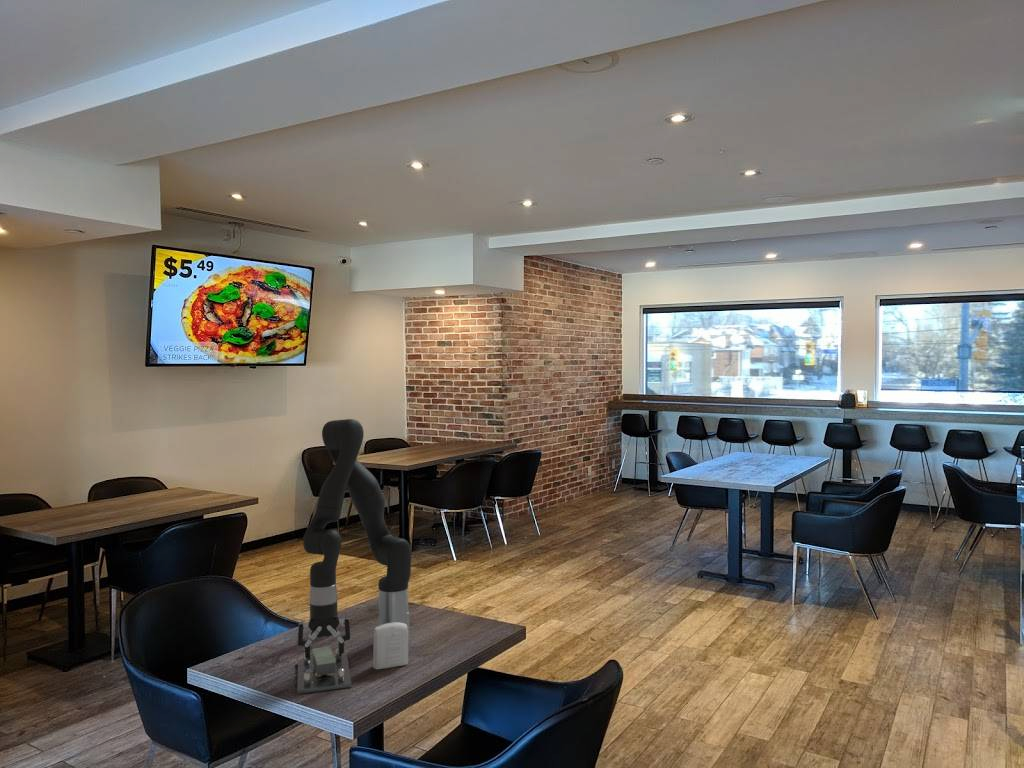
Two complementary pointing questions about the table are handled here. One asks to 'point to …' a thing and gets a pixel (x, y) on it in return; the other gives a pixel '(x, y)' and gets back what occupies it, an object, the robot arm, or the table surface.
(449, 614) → the table surface
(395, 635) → the photo printer
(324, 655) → the grey green block
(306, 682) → the plate
